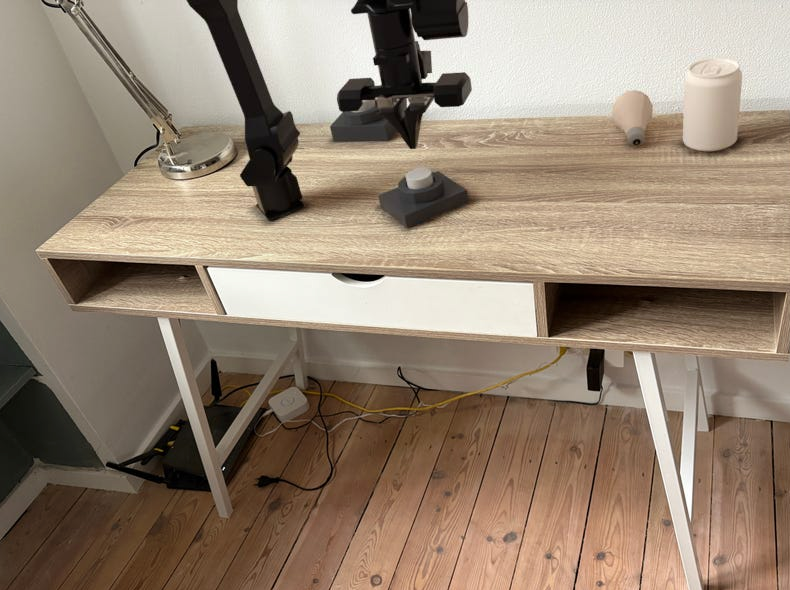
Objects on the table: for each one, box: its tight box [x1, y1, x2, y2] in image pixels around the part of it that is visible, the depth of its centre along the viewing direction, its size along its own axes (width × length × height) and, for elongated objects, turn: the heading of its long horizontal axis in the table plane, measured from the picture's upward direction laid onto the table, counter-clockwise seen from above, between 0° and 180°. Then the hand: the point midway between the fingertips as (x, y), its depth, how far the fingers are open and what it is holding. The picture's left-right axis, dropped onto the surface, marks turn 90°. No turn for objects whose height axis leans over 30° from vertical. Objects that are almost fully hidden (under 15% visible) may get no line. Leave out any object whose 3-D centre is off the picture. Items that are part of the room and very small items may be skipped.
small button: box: [405, 167, 433, 189], centre depth 125 cm, size 4×4×2 cm
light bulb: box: [611, 90, 654, 148], centre depth 133 cm, size 7×7×11 cm
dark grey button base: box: [377, 170, 470, 229], centre depth 126 cm, size 11×9×4 cm
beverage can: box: [682, 57, 743, 153], centre depth 125 cm, size 8×8×12 cm
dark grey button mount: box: [329, 100, 397, 142], centre depth 152 cm, size 11×8×5 cm
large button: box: [351, 100, 376, 112], centre depth 150 cm, size 5×5×2 cm
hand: (413, 147), depth 122 cm, fingers closed
